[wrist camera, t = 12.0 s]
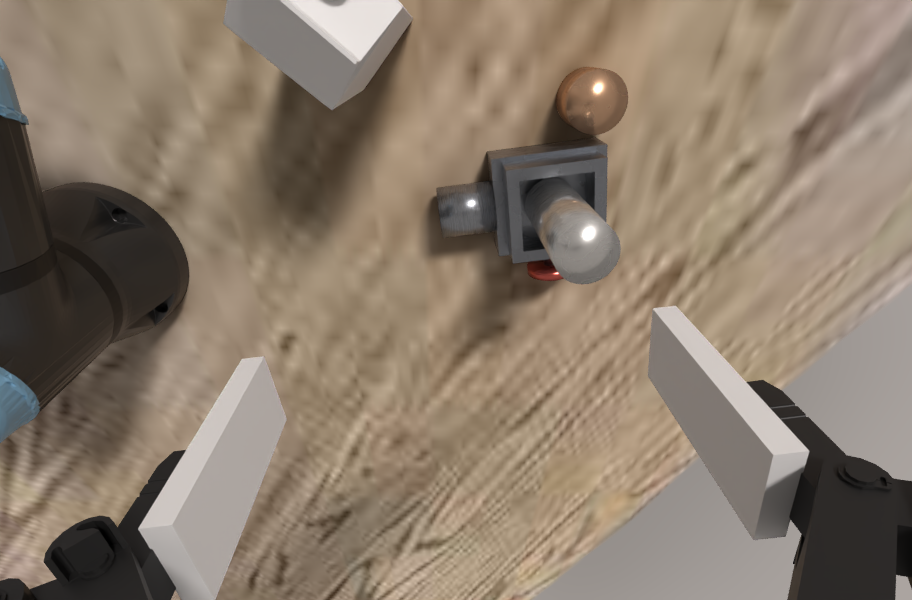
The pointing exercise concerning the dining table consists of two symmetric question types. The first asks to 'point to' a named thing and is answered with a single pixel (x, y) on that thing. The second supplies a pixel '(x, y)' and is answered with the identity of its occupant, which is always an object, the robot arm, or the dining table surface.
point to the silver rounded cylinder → (572, 232)
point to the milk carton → (321, 40)
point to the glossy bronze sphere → (592, 100)
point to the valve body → (524, 197)
